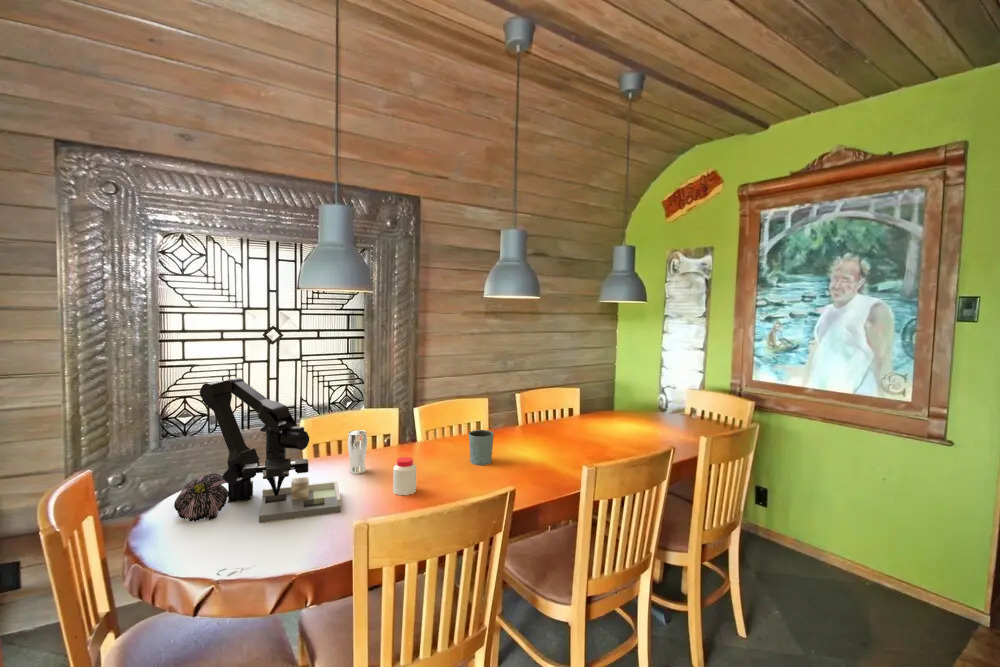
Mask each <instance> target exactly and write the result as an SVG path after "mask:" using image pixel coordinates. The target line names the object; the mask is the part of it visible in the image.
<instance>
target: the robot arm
mask: <svg viewBox="0 0 1000 667" xmlns="http://www.w3.org/2000/svg"><path fill="white" fill-rule="evenodd" d="M233 395H234V396H235V397H237V398H238V399H239V400H241V402H243V403H245V404H246V405H247V406H248V407H250V408H251V409H252V410H254V411H255V412H256V413H257V418H258V419H259V420H260V421H261V422H262V423H263V424H264V425H263V427H261V428H260V429H259V431H260V432H263V433H264V432H265V461H264V463H265V464H264V466H263V465H262V466H260V461H259V460H260V457H259V456H258V454H257V450H256V449H255V447H254V448H250V447H248V446H247V444H246V443H245V440H244V437H243V434H242V432H241V430H240V427H239V425H238V421H237V419H236V417H235V414H234V411H233V409H232V407H231V404H232V399H233ZM199 396H200V398H201V400H202V401H203V403H204V405H205V406H206V407H208V408H209V409H210V410H212V412H213V413H214V417H215V418H216V421H217V424H218V426H219V429H220V432H221V434H222V437H223V439H224V441H225V445H226V447H227V450H228V452H229V453H228V456H227V457H228V458H227V462H226V463H227V467H228V469H226V471H225V472H224V473H223V474H222V476H223V477H225V479H226V480H227V482H226V483H225V484H227V485H228V488H227V491H228V492H229V496H228V497H227V500H226V503H232V502H233V503H234V502H242V501H250V500H251V499H252V496H253V495H254V481H253V480H252V479H253V478H254V477H256V476H257V474H261V473H262V479H263V480H267V481H268V483H269V484H270V487H271V488H272V489H273V492H274V495H275V496H278V493H279V490H280V487H282V485H283V483H284V480H285V478H287V477H290V471H295V473H296V474H305V473H309V460H308V459H307V458H301V459H295V460H294V463H292V462H291V458H287V449H289V450H295V451H303V450H305V449H306V448H307V447H308V445H309V443H310V436H309V433H308V431H306V430H305V427H304V426H298V424H297V422H296V420H295V419H294V418H293V416H292V414H291V412H290V409H289V407H288V406H287V405H286V404H283V403H282V402H279V401H276V400H271V399H268V398H267V397H266V396H264V395H263V394H261V392H259V391H257V390H256V389H255V388H254V387H252V386H251V385H249V383H247V382H246V381H245V380H244V379H243V378H240V377H235V378H228V379H227V380H219V381H212V382H205V383H204V384H202V386H201V388H200V389H199ZM277 477H278V478H277ZM276 478H277V480H276ZM276 481H277V482H276ZM276 483H277V484H276ZM276 488H277V489H276Z"/></svg>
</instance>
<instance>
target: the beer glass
mask: <svg viewBox="0 0 1000 667" xmlns="http://www.w3.org/2000/svg"><path fill="white" fill-rule="evenodd" d="M367 435H368V434H367V431H366V430H364V429H363V430H362V429H355V430H350V431H348V436H347V450H348V456H349V468H348V473H350V474H351V475H360V474H363V473H365V472H366V462H365V461H366V455H367V448H368V436H367Z"/></svg>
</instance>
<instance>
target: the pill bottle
mask: <svg viewBox="0 0 1000 667" xmlns="http://www.w3.org/2000/svg"><path fill="white" fill-rule="evenodd" d="M392 471H393V472H392V474H393V475H392V493H393V494H394V493H395V494H394V495H396V494H398V495H397V496H401V495H405V496H410V495H409V494H411V495H413V494H415V493H416V491H417V465H416V464H415V463H414V459H413V458H412V457H410V456H401V457H398V458H397V459H396V464H395V465H394V466H393V468H392ZM414 492H415V493H414Z"/></svg>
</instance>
